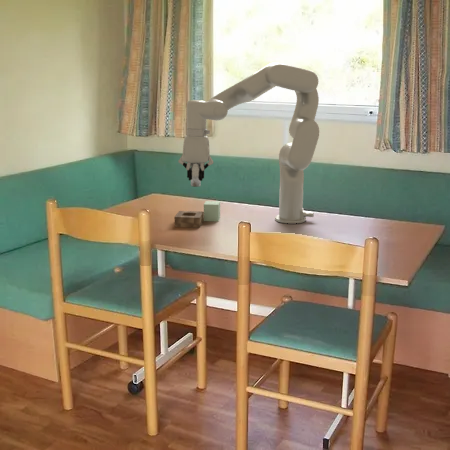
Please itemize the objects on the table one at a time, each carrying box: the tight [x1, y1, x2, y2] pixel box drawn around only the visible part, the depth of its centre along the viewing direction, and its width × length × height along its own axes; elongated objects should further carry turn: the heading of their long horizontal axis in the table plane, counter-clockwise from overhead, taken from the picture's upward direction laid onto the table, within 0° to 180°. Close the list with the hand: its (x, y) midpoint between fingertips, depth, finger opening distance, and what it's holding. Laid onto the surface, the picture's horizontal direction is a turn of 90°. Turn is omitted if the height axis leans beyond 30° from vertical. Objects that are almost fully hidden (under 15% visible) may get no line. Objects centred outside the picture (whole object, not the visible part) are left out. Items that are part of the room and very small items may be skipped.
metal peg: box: [190, 162, 202, 188], centre depth 248 cm, size 4×4×9 cm
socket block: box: [174, 210, 205, 229], centre depth 253 cm, size 10×10×4 cm
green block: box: [203, 200, 221, 222], centre depth 260 cm, size 6×6×7 cm
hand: (195, 179), depth 248 cm, fingers closed on metal peg, 3 cm apart
